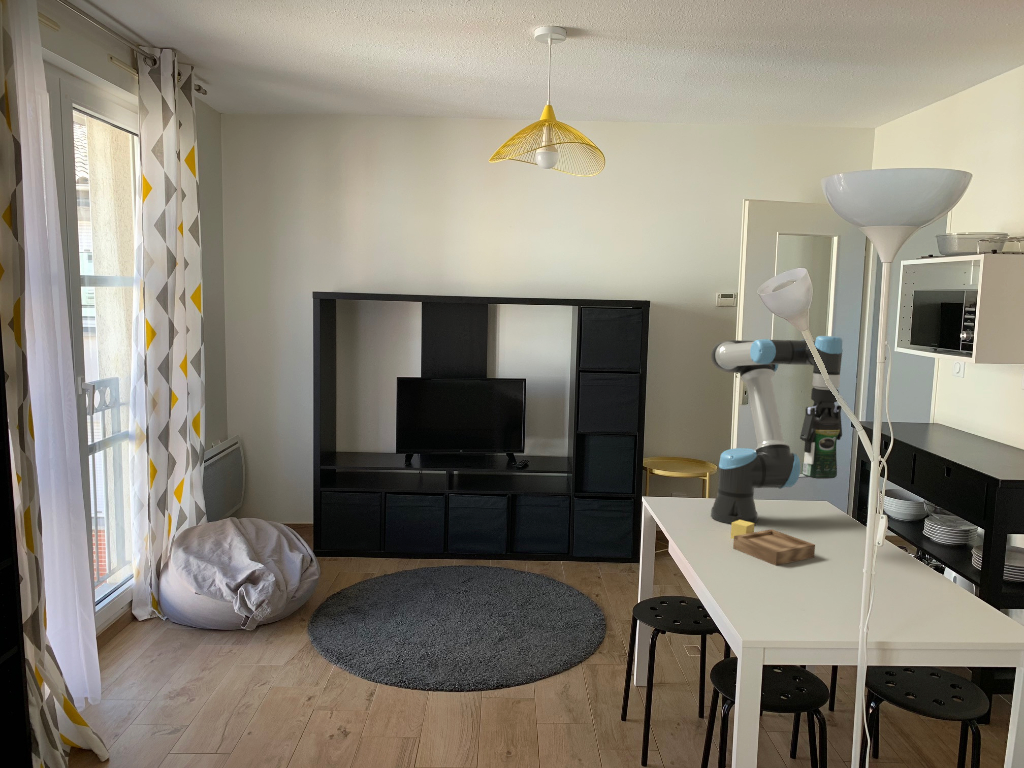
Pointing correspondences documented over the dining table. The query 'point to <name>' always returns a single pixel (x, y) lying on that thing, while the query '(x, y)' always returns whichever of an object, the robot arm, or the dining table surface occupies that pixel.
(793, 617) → the dining table surface
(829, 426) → the coffee jar
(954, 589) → the dining table surface
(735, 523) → the mustard cube
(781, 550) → the walnut tray
